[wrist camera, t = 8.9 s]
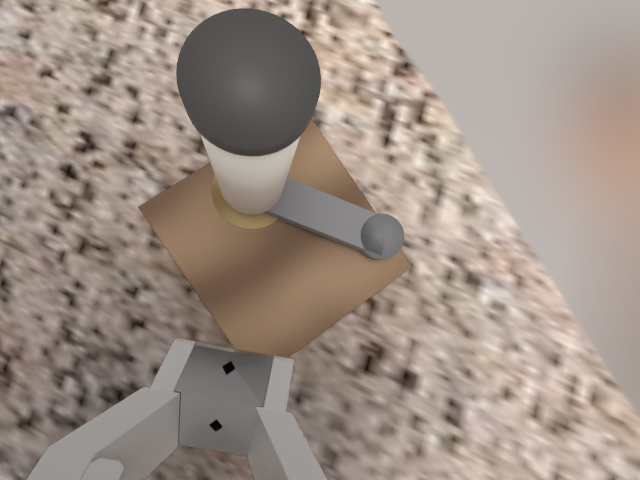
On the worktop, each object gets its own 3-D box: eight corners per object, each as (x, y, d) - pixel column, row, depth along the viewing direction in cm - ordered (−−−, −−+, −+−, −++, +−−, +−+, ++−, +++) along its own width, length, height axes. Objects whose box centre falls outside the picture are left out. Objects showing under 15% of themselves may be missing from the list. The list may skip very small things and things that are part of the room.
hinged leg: (406, 217, 27) (571, 147, 13) (386, 275, 26) (535, 267, 12) (233, 146, 26) (210, -15, 12) (208, 205, 25) (152, 111, 11)
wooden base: (148, 213, 28) (137, 206, 25) (298, 120, 30) (303, 104, 27) (256, 371, 28) (256, 381, 25) (399, 268, 30) (413, 266, 27)
